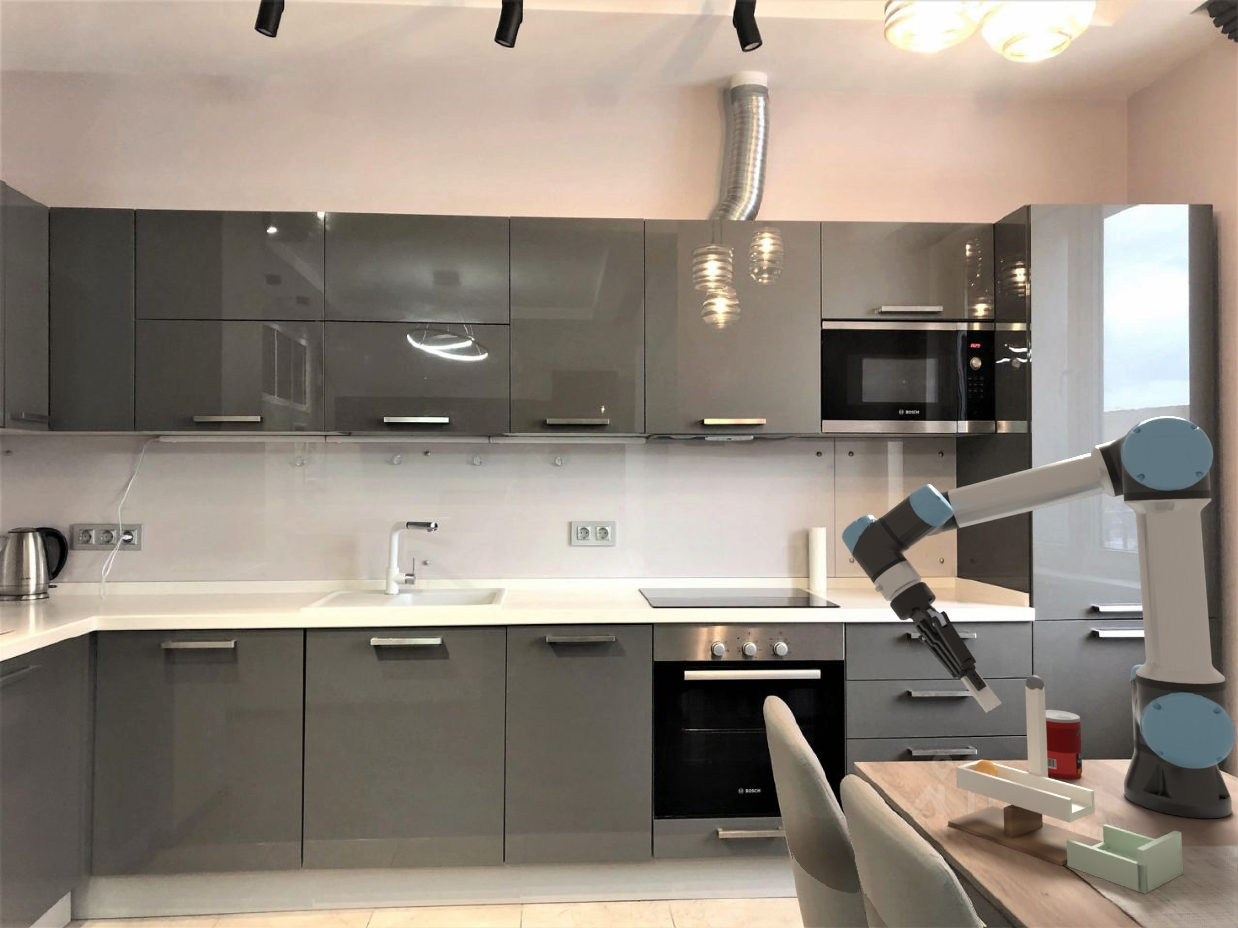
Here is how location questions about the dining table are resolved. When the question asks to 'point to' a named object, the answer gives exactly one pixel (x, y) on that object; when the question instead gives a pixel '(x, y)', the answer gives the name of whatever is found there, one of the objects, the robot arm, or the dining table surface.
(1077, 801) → the seesaw
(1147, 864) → the tray
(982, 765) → the ball
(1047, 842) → the stand
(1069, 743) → the canned food
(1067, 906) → the dining table surface
